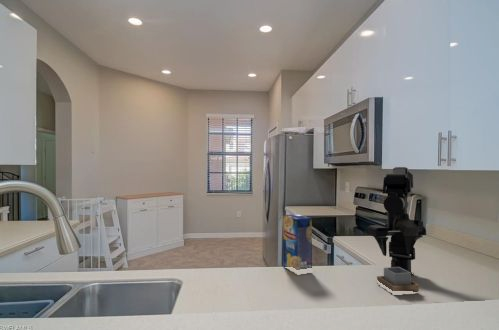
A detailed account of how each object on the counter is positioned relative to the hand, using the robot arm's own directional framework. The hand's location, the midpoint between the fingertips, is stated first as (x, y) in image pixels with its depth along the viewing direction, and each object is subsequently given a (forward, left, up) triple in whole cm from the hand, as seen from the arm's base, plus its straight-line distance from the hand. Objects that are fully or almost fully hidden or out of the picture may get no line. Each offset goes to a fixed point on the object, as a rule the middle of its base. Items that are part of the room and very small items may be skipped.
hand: (396, 255), depth 100 cm
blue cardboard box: (+28, -24, -12) cm, 39 cm away
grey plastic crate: (0, 0, -11) cm, 11 cm away
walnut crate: (0, 0, -12) cm, 12 cm away
